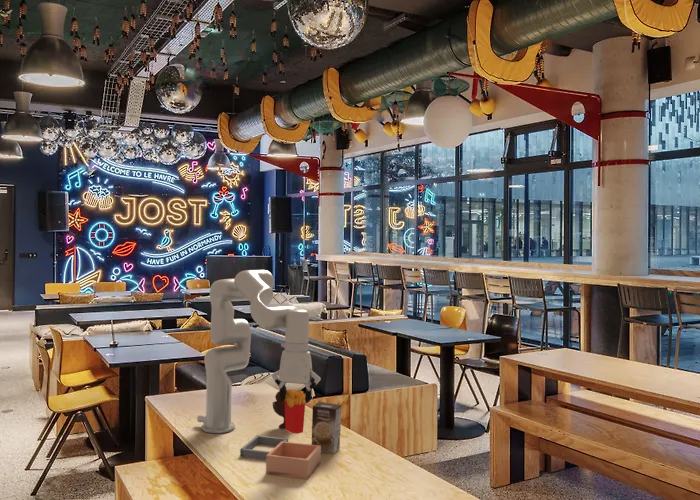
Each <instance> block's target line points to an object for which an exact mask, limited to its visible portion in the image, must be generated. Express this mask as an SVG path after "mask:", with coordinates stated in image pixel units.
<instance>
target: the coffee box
mask: <svg viewBox="0 0 700 500" xmlns="http://www.w3.org/2000/svg"><path fill="white" fill-rule="evenodd" d="M311 416H312V418H311V419H312V420H311V422H312V423H311V424H312V426H311V445H320V446H321V453H324V454H325V453H326V454H333V455H334V454H336V453H337V452H338V451H339V450H340V447H341V424H342V422H341V421H342V404H337V403H330V402H324V401H317V403H315V404H313V406H312V415H311Z"/></svg>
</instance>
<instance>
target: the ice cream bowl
mask: <svg viewBox="0 0 700 500" xmlns="http://www.w3.org/2000/svg"><path fill="white" fill-rule="evenodd" d="M287 390H288V389H286V393H287ZM272 408H273V411H274V413H275V414H277V416H280V417H282V418H283V422H282V423H281V424H279V425H278V429H280V430H286V428H285V400H283V401H281V397H280V390H278V391H277V392H276V394H275V400H274V401H273V402H272Z"/></svg>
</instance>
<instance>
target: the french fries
mask: <svg viewBox="0 0 700 500" xmlns="http://www.w3.org/2000/svg"><path fill="white" fill-rule="evenodd" d="M286 390H287V393H286V396H285V428H286V429H285V431H287V432H289V433H291V434H295V435H296V434H298V435H299V434H302V433H304V423H305V412H306V411H305V409H306V403H305V396H306V395H305V392H304V391H303V390H296V389H286Z"/></svg>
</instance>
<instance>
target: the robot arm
mask: <svg viewBox="0 0 700 500" xmlns="http://www.w3.org/2000/svg"><path fill="white" fill-rule="evenodd" d="M274 287H275V279H274V276H273V274H272V273H271V272H270V271H269V270H266V269H246V270H241V271H240V272H238V273H237V274H236V275H235V277H234V278H225V279H223V278H222V279H219V280H215V281H214V282H213V283H212V284H211V285H210V288H209V298H210V299H209V300H210V304H211V305H210V307H211V315H210V329H209V331H210V332H209V333H210V335H209V336H210V341H211V343H212V344H214V345H217V346H218V345H220V346H219V347H213V348H211V349H208V351H206V353H205V355H204V367H205V373H206V374H205V375H206V404H205V405H206V407H205V411H206V412H205V413H206V414H205V415H198V416H197V422H198V423H203V424H202V426H201V430H202V431H203V432H205V433H209V434H225V433H228V432H232V431H234V429H235V428H236V424H235V423H234V422H232V398H233V397H232V392H233V391H232V389H233V388H232V386H233V383H232V380H231V379H230V377H229V376H228V374H227V372H231V371H232V372H233V371H239V370H243V369H245V368H246V367H247V366H248V365H249V362H250V355H251V354H250V353H251V342H252V330H251V329H252V328H251V325H250V323H249V322H248V320H246V319H245V318H234V317H235V308H234V306H233V304H232V302H242V301H244V302H245V301H248V302H250V305H249V308H250V309H249V311H250V316H251V318H252V319H253V321H254V322H255V323H256V324H257V325H258V326H259V327H260V328H262V329H263V330H266V331H276V330H285V332H284V335H285V336H284V337H285V339H284V342H281V344H280V347H281V348H284V350H283V351H282V353H281V356H280V362H279V363H280V364H279V369H278V370H276V371H275V372H274V373H272V374H271V378H272V379H273V380H274V383H275V384H276V385H277V386H278V388H279V391H280V397H281V401H283V400H285V396H286V390H287V386H286V384H299V385H304V386H305V388H306V390H305V392H304V393H305V395H306V396H305V401H304V402H305V404H308V403H309V402H310V401H311V400H312V397H313V396H312V395H313V393H312V390H313V389H314V388H315V387H316V386H317V385H318V383H319V382H320V381H321V380H322V379H321V376H319V375H318V374H317V373H316V372H315V371H313V365H312V364H313V363H312V356H311V351H309V330H310V329H309V327H310V326H309V325H310V313H309V311H308V310H307V309H304V308H303V309H302V308H298V307H296V306H295V305H283V306H282V305H281V306H280V305H279V306H270V307H268V306H269V305H270V303H271V302H272V300H273V299H274V291H273V288H274ZM230 344H231V345H230ZM232 344H234V345H232ZM222 345H228V346H222ZM229 345H230V346H229ZM312 379H314V381H313V382H311V381H312Z"/></svg>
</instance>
